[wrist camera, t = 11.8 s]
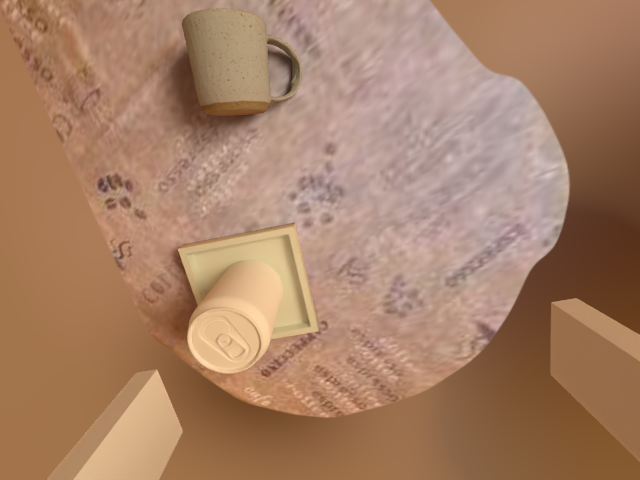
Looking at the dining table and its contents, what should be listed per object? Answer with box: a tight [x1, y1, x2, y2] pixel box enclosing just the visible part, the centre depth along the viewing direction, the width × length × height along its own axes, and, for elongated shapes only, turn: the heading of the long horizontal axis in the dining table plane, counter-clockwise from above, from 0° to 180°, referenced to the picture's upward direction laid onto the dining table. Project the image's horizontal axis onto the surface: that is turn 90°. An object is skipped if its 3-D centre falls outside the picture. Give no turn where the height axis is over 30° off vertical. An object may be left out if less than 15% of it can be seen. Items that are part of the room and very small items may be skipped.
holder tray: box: [178, 223, 318, 339], centre depth 40 cm, size 15×15×2 cm
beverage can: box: [187, 260, 283, 373], centre depth 34 cm, size 8×8×12 cm
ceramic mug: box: [182, 8, 302, 116], centre depth 30 cm, size 11×8×8 cm
